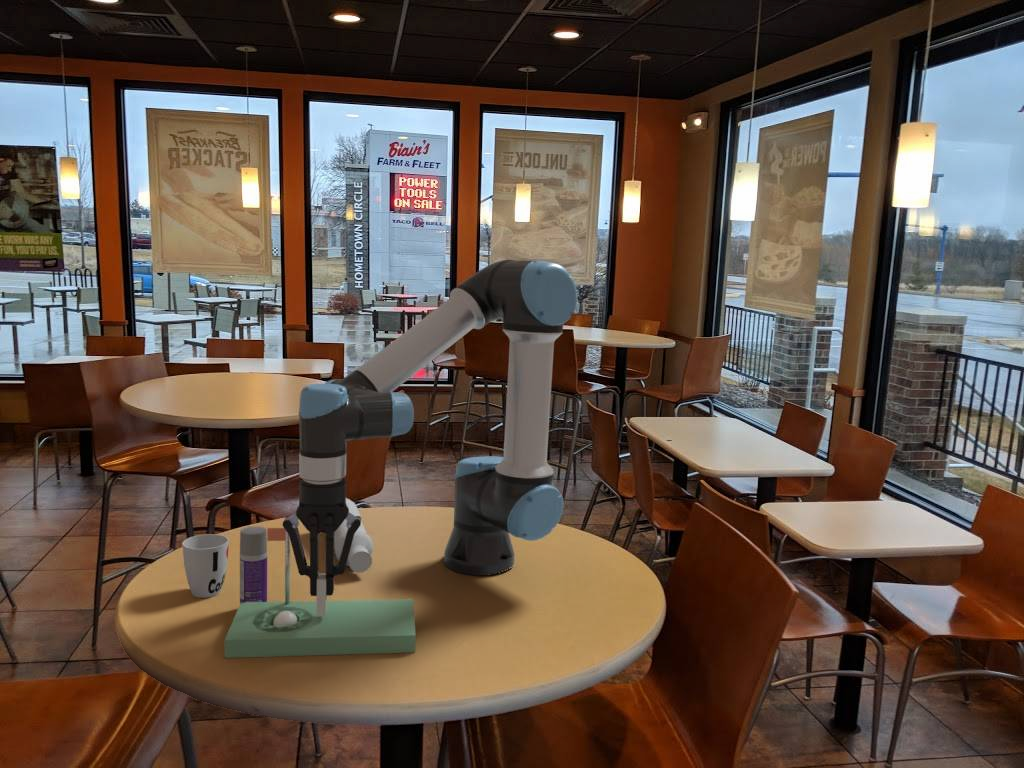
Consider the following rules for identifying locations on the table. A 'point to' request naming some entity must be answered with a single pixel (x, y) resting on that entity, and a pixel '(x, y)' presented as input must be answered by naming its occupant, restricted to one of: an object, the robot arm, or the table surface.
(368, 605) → the green
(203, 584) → the cup
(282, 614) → the ball
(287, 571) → the flag pin
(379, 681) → the table surface
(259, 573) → the container
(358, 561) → the bottle
